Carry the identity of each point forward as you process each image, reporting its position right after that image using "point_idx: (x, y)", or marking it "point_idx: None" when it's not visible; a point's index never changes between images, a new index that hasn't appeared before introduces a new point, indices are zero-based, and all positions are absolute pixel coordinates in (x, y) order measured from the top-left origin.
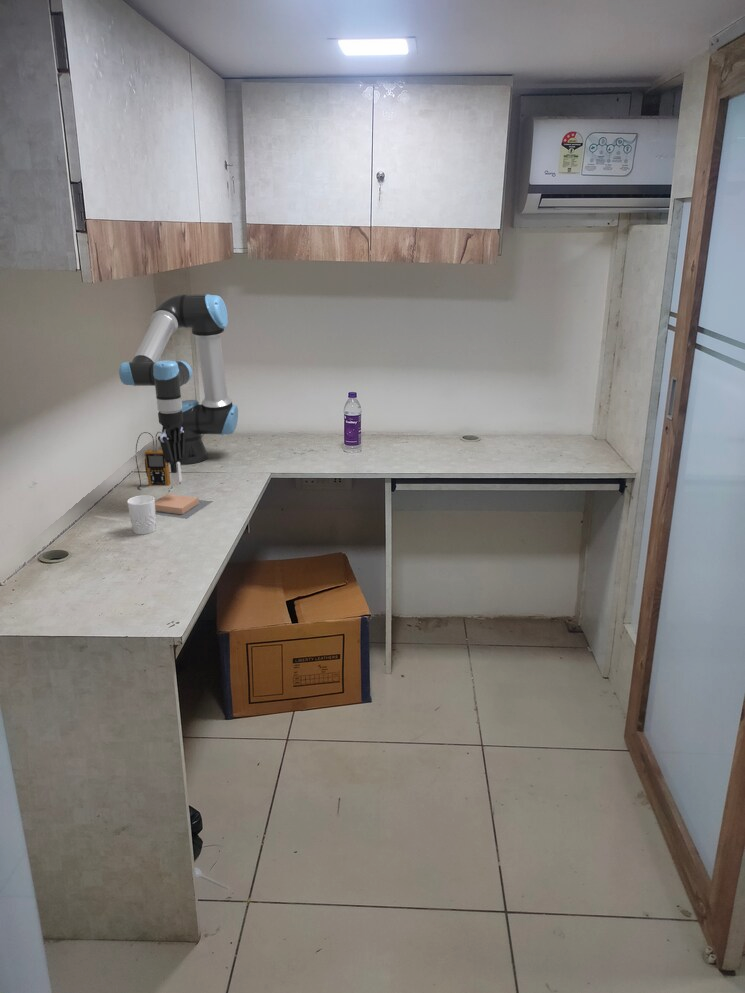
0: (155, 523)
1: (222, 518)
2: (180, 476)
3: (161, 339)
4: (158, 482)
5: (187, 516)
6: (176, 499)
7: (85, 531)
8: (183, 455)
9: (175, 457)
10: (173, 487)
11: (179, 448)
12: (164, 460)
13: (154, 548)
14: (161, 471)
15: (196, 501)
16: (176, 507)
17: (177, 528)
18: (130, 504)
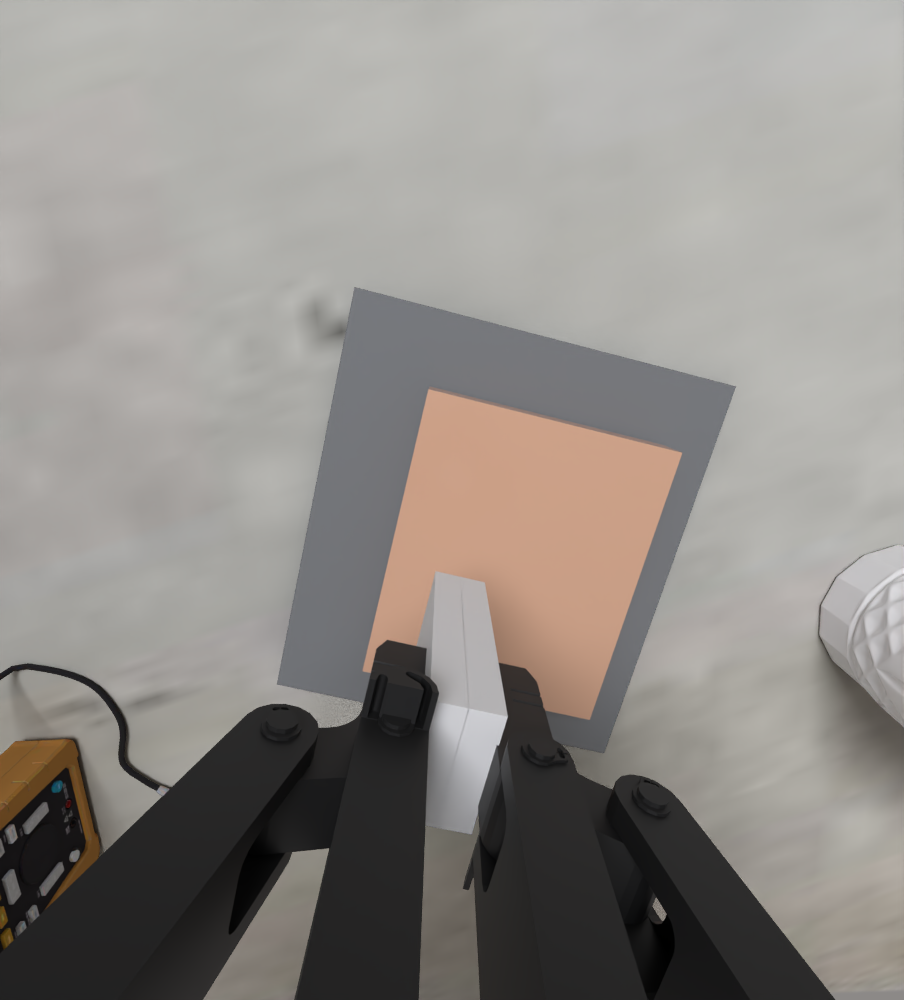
0: (901, 563)
1: (694, 96)
2: (459, 599)
3: None
4: (64, 819)
5: (691, 396)
6: (479, 561)
7: (867, 912)
8: (285, 729)
9: (563, 820)
10: (70, 698)
11: (360, 934)
12: None
13: None
14: None
15: (463, 396)
16: (661, 502)
17: (877, 406)
18: None
